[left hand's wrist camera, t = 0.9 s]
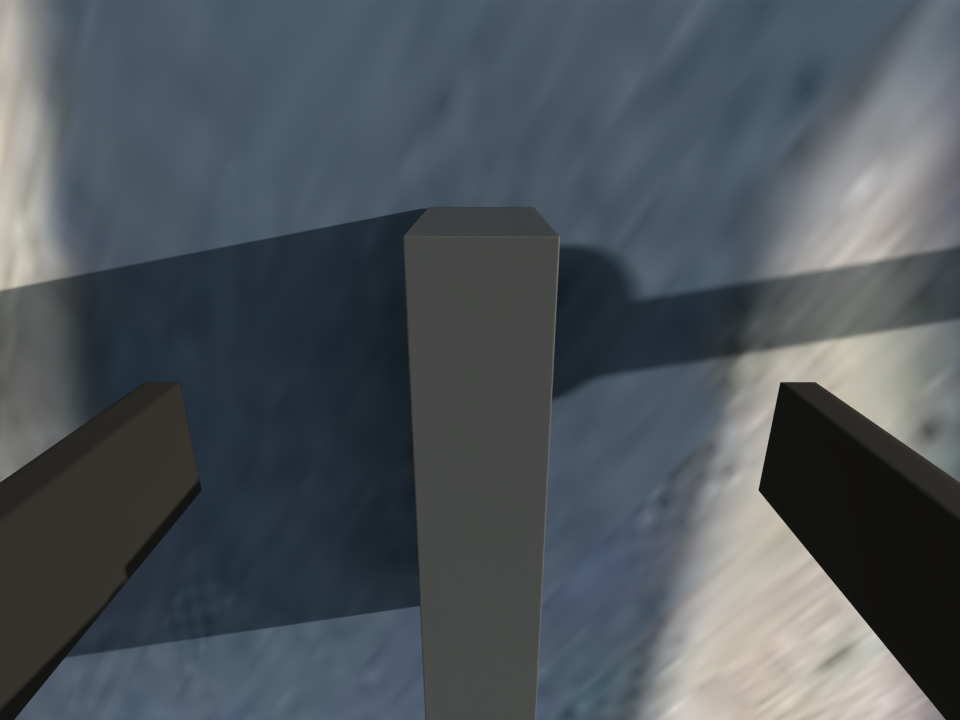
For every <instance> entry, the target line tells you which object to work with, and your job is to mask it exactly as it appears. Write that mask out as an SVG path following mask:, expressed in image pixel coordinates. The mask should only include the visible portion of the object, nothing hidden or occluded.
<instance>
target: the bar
mask: <svg viewBox="0 0 960 720" xmlns="http://www.w3.org/2000/svg"><path fill="white" fill-rule="evenodd" d="M559 249H560V236H559V235H558V234H557V233H556V232H555V231H554V229H553V228H552V227H551V226H550V225H549V224H548V223H547V221H546V220H545V219H544V218H543V217H542V216H541V215H540V213H539V212H538V211H537V210H536V209H535V208H534V207H429V208H428V209H427V210H426V211H425V212H424V213H423V214H422V215H421V216H420V218H419V219H418V220H417V221H416V222H415V223H414V224H413V226H412V227H411V228H410V229H409V230H408V231H407V232H406V234H405V235H404V236H403V253H404V274H405V295H406V316H407V338H408V359H409V380H410V401H411V422H412V444H413V465H414V486H415V507H416V529H417V550H418V571H419V592H420V613H421V635H422V656H423V677H424V698H425V720H536V706H537V686H538V666H539V646H540V626H541V606H542V586H543V567H544V547H545V527H546V507H547V487H548V467H549V447H550V427H551V408H552V388H553V368H554V348H555V328H556V308H557V288H558V269H559Z"/></svg>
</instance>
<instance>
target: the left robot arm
mask: <svg viewBox="0 0 960 720" xmlns="http://www.w3.org/2000/svg"><path fill="white" fill-rule="evenodd" d="M200 491H201V486H200V481H199V476H198V471H197V466H196V461H195V456H194V451H193V446H192V441H191V436H190V432H189V427H188V422H187V417H186V412H185V407H184V402H183V397H182V392H181V387H180V382H144V383H143V384H141V385H140V386H139V387H137V388H136V389H134V390H133V391H131V392H130V393H128V394H127V395H126V396H124V397H123V398H121V399H120V400H118V401H117V402H115V403H114V404H113V405H111V406H110V407H108V408H107V409H105V410H104V411H103V412H101V413H100V414H98V415H97V416H95V417H94V418H92V419H91V420H90V421H88V422H87V423H85V424H84V425H82V426H81V427H80V428H78V429H77V430H75V431H74V432H72V433H71V434H69V435H68V436H67V437H65V438H64V439H62V440H61V441H59V442H58V443H56V444H55V445H54V446H52V447H51V448H49V449H48V450H46V451H45V452H44V453H42V454H41V455H39V456H38V457H36V458H35V459H33V460H32V461H31V462H29V463H28V464H26V465H25V466H23V467H22V468H21V469H19V470H18V471H16V472H15V473H13V474H12V475H10V476H9V477H8V478H6V479H5V480H3V481H2V482H0V720H14V719H15V718H16V717H17V716H18V714H19V713H20V712H21V711H22V709H23V708H24V707H25V706H26V705H27V703H28V702H29V701H30V700H31V698H32V697H33V696H34V695H35V694H36V692H37V691H38V690H39V689H40V687H41V686H42V685H43V684H44V683H45V681H46V680H47V679H48V678H49V676H50V675H51V674H52V673H53V671H54V670H55V669H56V668H57V667H58V665H59V664H60V663H61V662H62V660H63V659H64V658H65V657H66V656H67V654H68V653H69V652H70V651H71V649H72V648H73V647H74V646H75V645H76V643H77V642H78V641H79V640H80V638H81V637H82V636H83V635H84V634H85V632H86V631H87V630H88V629H89V627H90V626H91V625H92V624H93V623H94V621H95V620H96V619H97V618H98V616H99V615H100V614H101V613H102V611H103V610H104V609H105V608H106V607H107V605H108V604H109V603H110V602H111V600H112V599H113V598H114V597H115V596H116V594H117V593H118V592H119V591H120V589H121V588H122V587H123V586H124V585H125V583H126V582H127V581H128V580H129V578H130V577H131V576H132V575H133V574H134V572H135V571H136V570H137V569H138V567H139V566H140V565H141V564H142V563H143V561H144V560H145V559H146V558H147V556H148V555H149V554H150V553H151V551H152V550H153V549H154V548H155V547H156V545H157V544H158V543H159V542H160V540H161V539H162V538H163V537H164V536H165V534H166V533H167V532H168V531H169V529H170V528H171V527H172V526H173V525H174V523H175V522H176V521H177V520H178V518H179V517H180V516H181V515H182V514H183V512H184V511H185V510H186V509H187V507H188V506H189V505H190V504H191V503H192V501H193V500H194V499H195V498H196V496H197V495H198V494H199V493H200ZM759 491H760V493H761V494H762V495H763V496H764V498H765V499H766V500H767V501H768V503H769V504H770V505H771V506H772V507H773V509H774V510H775V511H776V512H777V514H778V515H779V516H780V517H781V518H782V520H783V521H784V522H785V523H786V525H787V526H788V527H789V528H790V529H791V531H792V532H793V533H794V534H795V536H796V537H797V538H798V539H799V540H800V542H801V543H802V544H803V545H804V547H805V548H806V549H807V550H808V551H809V553H810V554H811V555H812V556H813V558H814V559H815V560H816V561H817V563H818V564H819V565H820V566H821V567H822V569H823V570H824V571H825V572H826V574H827V575H828V576H829V577H830V578H831V580H832V581H833V582H834V583H835V585H836V586H837V587H838V588H839V589H840V591H841V592H842V593H843V594H844V596H845V597H846V598H847V599H848V600H849V602H850V603H851V604H852V605H853V607H854V608H855V609H856V610H857V611H858V613H859V614H860V615H861V616H862V618H863V619H864V620H865V621H866V623H867V624H868V625H869V626H870V627H871V629H872V630H873V631H874V632H875V634H876V635H877V636H878V637H879V638H880V640H881V641H882V642H883V643H884V645H885V646H886V647H887V648H888V649H889V651H890V652H891V653H892V654H893V656H894V657H895V658H896V659H897V660H898V662H899V663H900V664H901V665H902V667H903V668H904V669H905V670H906V671H907V673H908V674H909V675H910V676H911V678H912V679H913V680H914V681H915V683H916V684H917V685H918V686H919V687H920V689H921V690H922V691H923V692H924V694H925V695H926V696H927V697H928V698H929V700H930V701H931V702H932V703H933V705H934V706H935V707H936V708H937V709H938V711H939V712H940V713H941V714H942V716H943V717H944V718H945V719H946V720H960V482H958V481H957V480H955V479H954V478H952V477H951V476H950V475H948V474H947V473H945V472H944V471H942V470H941V469H939V468H938V467H937V466H935V465H934V464H932V463H931V462H929V461H928V460H927V459H925V458H924V457H922V456H921V455H919V454H918V453H916V452H915V451H914V450H912V449H911V448H909V447H908V446H906V445H905V444H904V443H902V442H901V441H899V440H898V439H896V438H895V437H893V436H892V435H891V434H889V433H888V432H886V431H885V430H883V429H882V428H880V427H879V426H878V425H876V424H875V423H873V422H872V421H870V420H869V419H868V418H866V417H865V416H863V415H862V414H860V413H859V412H857V411H856V410H855V409H853V408H852V407H850V406H849V405H847V404H846V403H845V402H843V401H842V400H840V399H839V398H837V397H836V396H834V395H833V394H832V393H830V392H829V391H827V390H826V389H824V388H823V387H821V386H820V385H819V384H817V383H816V382H780V387H779V392H778V397H777V402H776V407H775V412H774V417H773V422H772V427H771V432H770V436H769V441H768V446H767V451H766V456H765V461H764V466H763V471H762V476H761V481H760V486H759Z"/></svg>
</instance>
